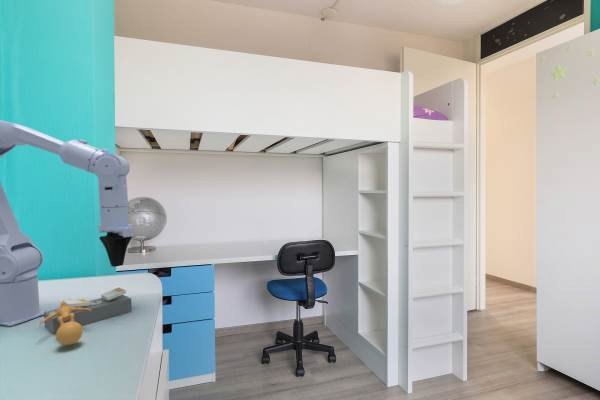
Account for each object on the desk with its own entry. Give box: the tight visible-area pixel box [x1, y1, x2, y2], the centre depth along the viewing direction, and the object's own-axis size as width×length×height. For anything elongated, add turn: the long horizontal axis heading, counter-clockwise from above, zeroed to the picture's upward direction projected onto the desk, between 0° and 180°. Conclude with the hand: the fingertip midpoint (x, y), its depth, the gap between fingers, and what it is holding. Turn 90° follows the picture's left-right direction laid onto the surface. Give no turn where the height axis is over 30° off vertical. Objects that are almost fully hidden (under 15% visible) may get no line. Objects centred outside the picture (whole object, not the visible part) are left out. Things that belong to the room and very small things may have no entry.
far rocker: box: [100, 287, 127, 300], centre depth 78 cm, size 4×4×1 cm
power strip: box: [43, 294, 133, 335], centre depth 74 cm, size 15×6×3 cm, turn 140°
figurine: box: [38, 301, 91, 346], centre depth 64 cm, size 8×6×12 cm
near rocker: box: [62, 298, 90, 308], centre depth 72 cm, size 4×4×1 cm
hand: (117, 265), depth 78 cm, fingers closed
